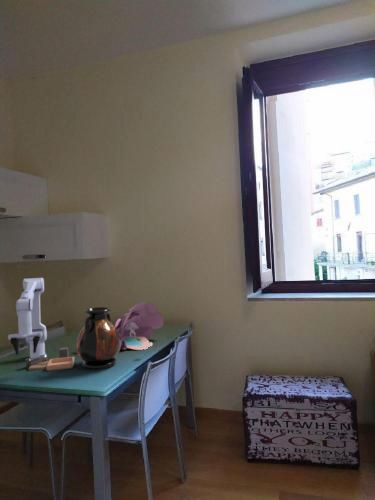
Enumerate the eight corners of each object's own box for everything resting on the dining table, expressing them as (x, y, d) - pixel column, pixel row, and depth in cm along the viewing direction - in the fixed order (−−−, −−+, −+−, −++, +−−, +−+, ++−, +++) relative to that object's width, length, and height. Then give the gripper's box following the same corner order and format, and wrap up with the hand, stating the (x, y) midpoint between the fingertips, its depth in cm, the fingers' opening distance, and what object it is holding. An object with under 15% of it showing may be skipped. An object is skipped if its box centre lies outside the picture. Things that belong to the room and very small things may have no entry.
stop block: (60, 359, 186) (60, 347, 186) (68, 358, 187) (68, 347, 187) (59, 361, 182) (59, 349, 182) (67, 360, 183) (67, 349, 183)
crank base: (33, 363, 180) (33, 361, 180) (49, 361, 182) (49, 359, 182) (28, 370, 169) (27, 368, 169) (45, 368, 170) (45, 366, 170)
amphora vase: (94, 357, 187) (92, 305, 187) (129, 360, 179) (127, 306, 179) (67, 370, 167) (65, 312, 167) (105, 374, 159) (102, 313, 159)
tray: (50, 363, 178) (50, 358, 178) (74, 361, 181) (74, 356, 181) (46, 371, 167) (46, 365, 167) (71, 368, 169) (71, 363, 169)
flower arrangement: (138, 363, 189) (143, 314, 184) (100, 353, 195) (104, 305, 191) (162, 341, 222) (167, 298, 218) (129, 332, 228) (133, 291, 224)
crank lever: (43, 359, 183) (43, 352, 183) (48, 360, 181) (48, 353, 181) (23, 366, 172) (23, 359, 172) (28, 367, 171) (28, 360, 171)
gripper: (5, 327, 158) (6, 357, 158) (39, 324, 161) (40, 354, 161) (10, 324, 165) (11, 352, 165) (42, 321, 168) (43, 349, 168)
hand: (26, 353), depth 163 cm, fingers open, 7 cm apart
